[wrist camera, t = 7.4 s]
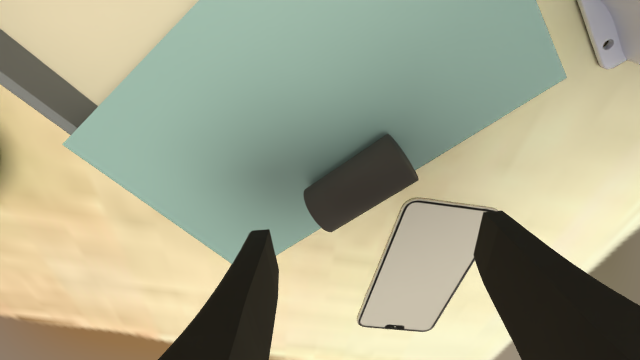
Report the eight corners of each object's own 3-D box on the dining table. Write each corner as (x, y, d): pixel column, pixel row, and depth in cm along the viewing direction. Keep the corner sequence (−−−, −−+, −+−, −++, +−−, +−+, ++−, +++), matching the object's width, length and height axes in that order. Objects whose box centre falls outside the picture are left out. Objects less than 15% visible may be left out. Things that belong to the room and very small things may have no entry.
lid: (559, 73, 16) (606, 99, 14) (247, 266, 24) (239, 308, 21) (429, -241, 11) (467, -297, 8) (69, 138, 18) (27, 174, 15)
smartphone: (506, 210, 25) (431, 332, 33) (502, 204, 26) (429, 326, 34) (406, 197, 24) (354, 326, 32) (404, 191, 25) (353, 320, 33)
